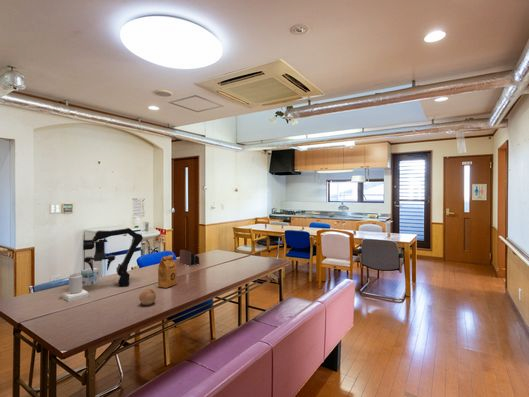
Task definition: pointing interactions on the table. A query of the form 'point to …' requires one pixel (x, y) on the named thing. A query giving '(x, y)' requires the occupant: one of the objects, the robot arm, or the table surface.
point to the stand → (75, 295)
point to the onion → (147, 297)
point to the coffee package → (167, 272)
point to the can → (75, 283)
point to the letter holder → (188, 258)
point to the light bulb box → (90, 276)
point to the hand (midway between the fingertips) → (100, 270)
